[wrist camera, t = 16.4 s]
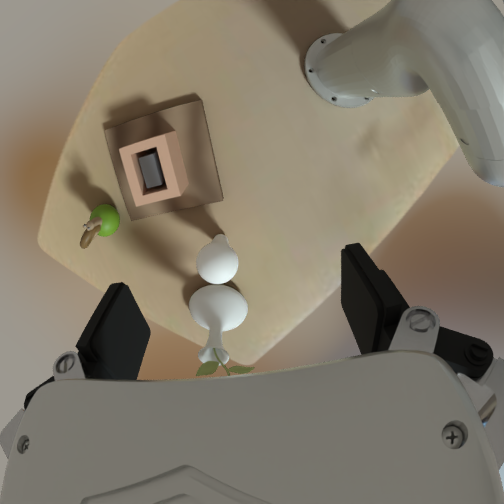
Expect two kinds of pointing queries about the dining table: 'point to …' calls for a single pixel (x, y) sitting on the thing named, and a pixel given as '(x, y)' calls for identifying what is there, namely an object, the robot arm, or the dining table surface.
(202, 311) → the flower in vase
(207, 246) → the lightbulb
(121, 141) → the hub plate
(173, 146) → the tan rectangular frame
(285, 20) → the dining table surface
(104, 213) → the snail figurine
